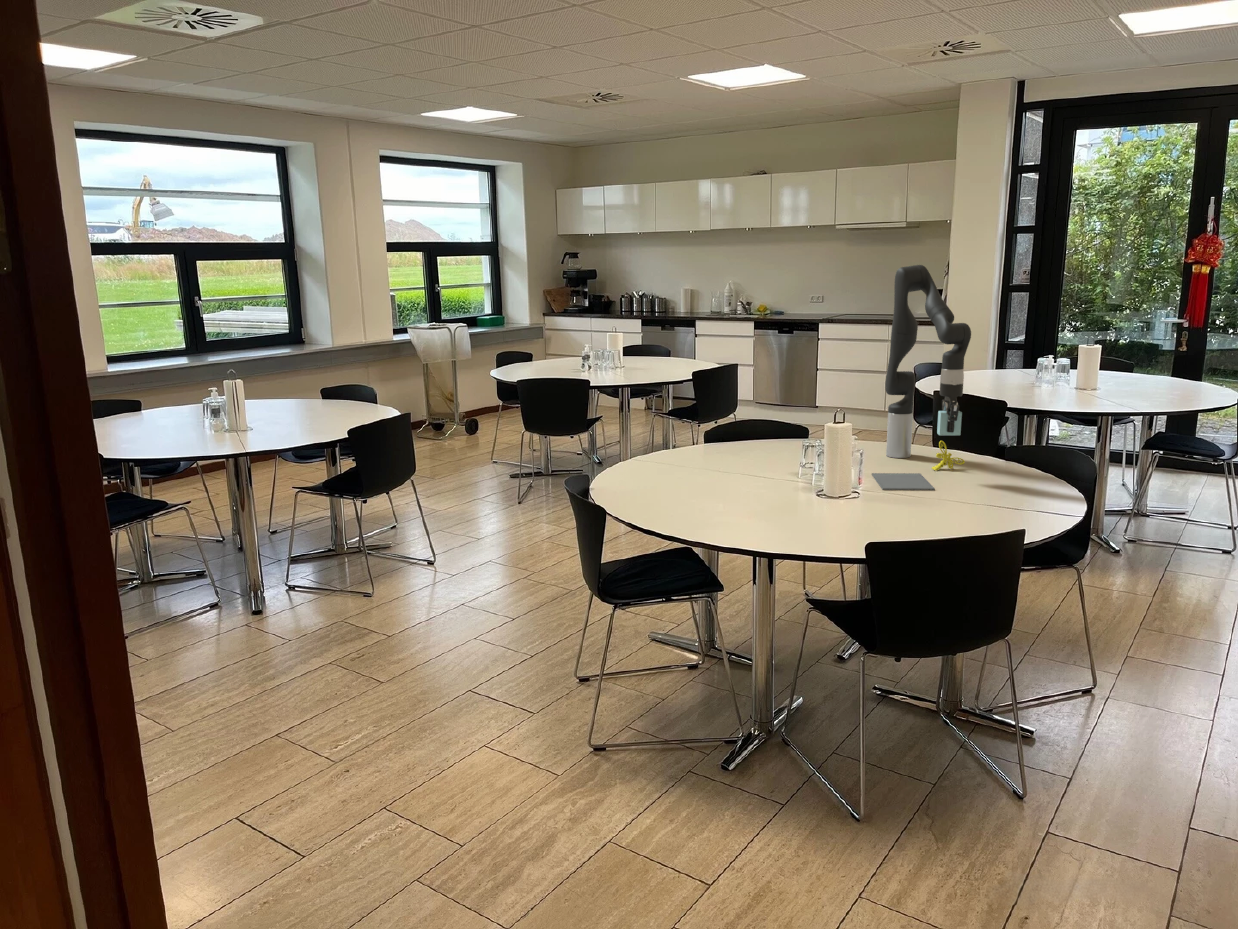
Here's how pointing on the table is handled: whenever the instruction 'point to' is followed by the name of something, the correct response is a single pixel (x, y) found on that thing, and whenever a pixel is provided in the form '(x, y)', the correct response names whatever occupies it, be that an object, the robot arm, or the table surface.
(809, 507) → the table surface
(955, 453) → the table surface
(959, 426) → the pale blue block
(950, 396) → the robot arm
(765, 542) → the table surface
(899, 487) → the mat
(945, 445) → the decorative insect
